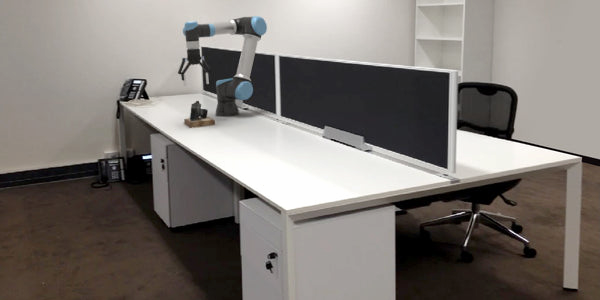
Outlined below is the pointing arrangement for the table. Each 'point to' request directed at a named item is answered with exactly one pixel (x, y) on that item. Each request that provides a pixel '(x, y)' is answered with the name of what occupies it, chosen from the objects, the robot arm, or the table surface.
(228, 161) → the table surface
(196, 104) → the camera
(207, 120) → the plinth
